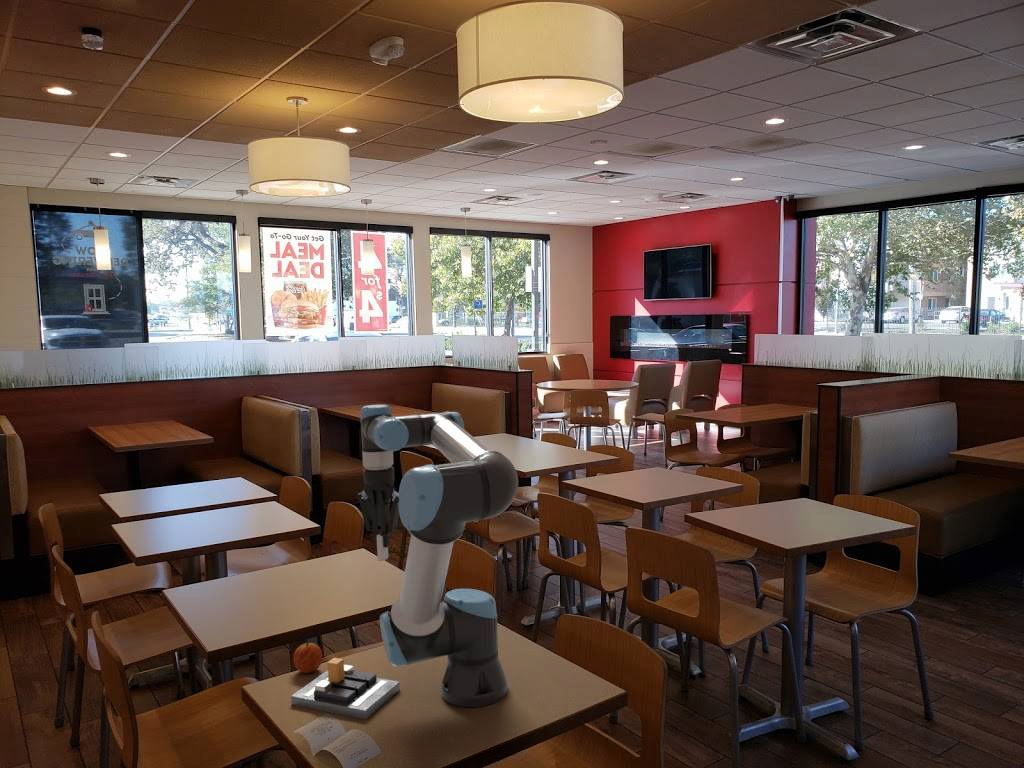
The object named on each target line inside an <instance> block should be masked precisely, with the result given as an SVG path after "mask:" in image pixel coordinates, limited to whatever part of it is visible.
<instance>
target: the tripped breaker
mask: <svg viewBox="0 0 1024 768" xmlns="http://www.w3.org/2000/svg"><path fill="white" fill-rule="evenodd" d="M344 662H345V661H344V658H338V657H333V658H332V659H330V660H329V661H327V670H328V681H330V682H336V683H338V682H340V681H341V680H342V679H344V678H345V676H344V665H345V663H344Z"/></svg>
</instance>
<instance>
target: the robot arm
mask: <svg viewBox="0 0 1024 768" xmlns="http://www.w3.org/2000/svg"><path fill="white" fill-rule="evenodd" d="M359 422H360V431H361V432H360V433H361V445H362V446H361V447H362V450H361V451H362V453H361V455H362V466H363V471H362V473H363V483H364V487H363V490H362V491H361V492H359V493H356V495H355V497H356V499H357V501H358V503H359V505H360V510H361V514H362V517H363V522H364V524H365V525H364V526H365V528H366V531H367V532H371V533H372V534H373V543H374V546H375V547H376V549H377V550H376V551H377V552H376V555H377V561H380V562H384V561H385V560H388V559H389V547H390V546H391V534H392V533H394V532H395V531H397V530H398V524H399V519H400V521H401V524H402V526H404V527H405V529H406V530H407V532H409V534H410V540H409V546H408V552H407V556H406V557H407V558H406V563H405V568H404V575H403V580H402V587H401V593H400V596H398V597H397V598H396V599H395V600H394V602H393V604H392V605H391V609H390V611H389V610H388V611H385V612H383V613H381V614H380V615H379V626H380V631H381V632H380V633H381V638H382V642H383V647H384V650H385V653H386V657H387V660H388V662H389V663H390V664H391V665H392V666H393V667H400V666H410V665H412V664H416V663H420V662H424V661H428V660H429V661H430V660H433V659H437V658H442V657H446V656H447V663H446V667H445V669H444V673H443V676H442V680H441V685H440V686H441V696H442V698H443V700H444V701H446V702H447V703H449V704H451V705H453V706H456V707H461V708H462V707H464V708H480V707H484V706H485V707H486V706H489V705H492V704H495V703H497V702H498V701H500V700H502V699H503V698H504V697H505V696H506V694H507V693H508V680H507V676H506V674H505V671H504V668H503V666H502V663H501V661H500V658H499V644H498V642H499V639H498V613H497V606H496V600H495V598H494V596H493V595H491V594H490V593H488V592H486V591H483V590H479V589H473V588H456V589H452V590H449V591H447V592H446V593H445V595H444V597H443V594H444V593H443V592H444V587H445V584H446V579H447V575H448V570H449V565H450V560H451V555H452V550H453V546H454V542H456V541H458V540H459V539H460V538H461V537H462V536H463V533H464V531H465V529H466V523H471V522H475V521H476V522H477V521H481V520H489V519H492V518H494V517H497V516H498V515H501V514H502V513H503V512H505V511H506V510H507V509H508V508H509V507H510V505H512V503H513V501H514V499H515V497H516V496H517V493H518V492H517V491H518V489H519V477H518V472H517V468H515V466H514V464H513V463H512V461H511V460H510V459H509V458H508V457H506V456H505V455H504V454H503V453H501V452H499V451H496V450H491V449H489V448H487V447H486V446H485V445H484V444H482V442H480V441H479V440H477V438H475V436H473V435H472V434H470V433H469V432H468V431H467V430H465V423H464V420H463V418H462V415H461V413H459V412H457V411H441V412H431V413H423V414H422V413H421V414H412V415H396V416H393V415H392V410H391V406H390V405H387V404H370V405H365V406H362V407H361V409H360V419H359ZM430 445H433V446H434V447H435V448H436V449H437V450H438V451H439V452H440V453H441V454H442V455H443V456H444V457H445V458H446V459H447V460H448V461H449V462H450V463H443V464H425V465H423V466H417V467H413V468H411V469H409V470H408V471H406V472H405V473H404V475H403V477H402V478H401V481H400V484H399V489H398V492H397V491H396V490H397V489H396V487H395V484H394V483H395V468H394V467H393V465H394V452H396V451H401V449H403V448H410V447H420V446H430ZM391 500H392V504H391ZM390 507H391V508H390ZM442 597H443V599H444V600H442Z"/></svg>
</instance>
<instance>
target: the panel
mask: <svg viewBox="0 0 1024 768" xmlns="http://www.w3.org/2000/svg"><path fill="white" fill-rule="evenodd" d="M344 676H345V678H344V679H342V680H341V681H340V682H338V683H336V682H330V681H328V669H327V670H326V671H325V672H323V673H322V674H320V675H318V677H316V678H314V679H313V680H312V681H310V682H309V683H308V684H306V685H304V686H303V687H301V688H299V690H298V691H296V692H294V693H293V694H292V695H290V699H291V700H290V701H291V703H290V704H291V705H292V704H293V705H292V706H297V707H303V708H308V709H312V710H317V711H322V712H327V713H332V714H336V715H342V716H346V717H351V718H357V719H362V720H367V719H368V718H369V717H370V716H371V715H373V714H374V713H375V712H376V711H377V710H379V709H380V708H382V706H384V705H385V704H386V703H387V702H388V701H389V700H390V699H391V698H393V697H394V695H396V694H397V693H398V692H400V690H401V685H400V681H397V680H391V679H387V678H380V677H377V673H371V672H367V671H365V672H364V671H360V670H354V665H349V664H344Z"/></svg>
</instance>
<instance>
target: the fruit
mask: <svg viewBox="0 0 1024 768" xmlns="http://www.w3.org/2000/svg"><path fill="white" fill-rule="evenodd" d="M322 660H323V653H322V649H321V647H320V646H319V645H317V644H316V643H313V642H309V641H308V640H306V643H304V642H303V644H301V645H299V646H298V647H297V648H296V649H295V651H294V654H293V665H294V667H295V669H296V670H298V671H299V672H301V673H303V674H310V673H313V672H315V671H317V670H318V668H319V667H320V666H321V664H322V662H323V661H322Z"/></svg>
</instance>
